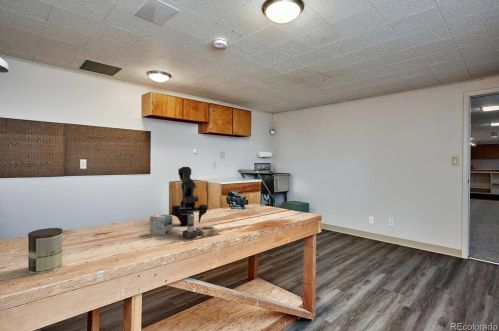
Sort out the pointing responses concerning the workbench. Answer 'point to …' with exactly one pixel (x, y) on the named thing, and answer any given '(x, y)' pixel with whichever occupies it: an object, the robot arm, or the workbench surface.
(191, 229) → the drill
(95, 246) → the workbench surface
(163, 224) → the light bulb box
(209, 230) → the socket rack board
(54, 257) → the coffee can
